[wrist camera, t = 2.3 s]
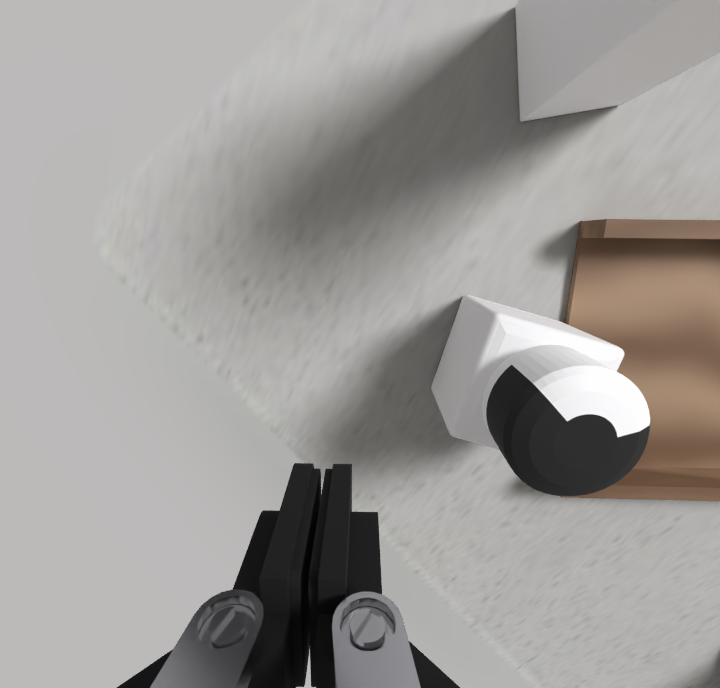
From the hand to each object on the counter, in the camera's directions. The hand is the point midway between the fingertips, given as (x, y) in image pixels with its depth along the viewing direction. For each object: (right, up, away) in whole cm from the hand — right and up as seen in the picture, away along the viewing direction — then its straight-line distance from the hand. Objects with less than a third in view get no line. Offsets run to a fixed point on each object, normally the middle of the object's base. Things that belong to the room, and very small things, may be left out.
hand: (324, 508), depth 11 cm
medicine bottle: (+10, +4, +16) cm, 20 cm away
